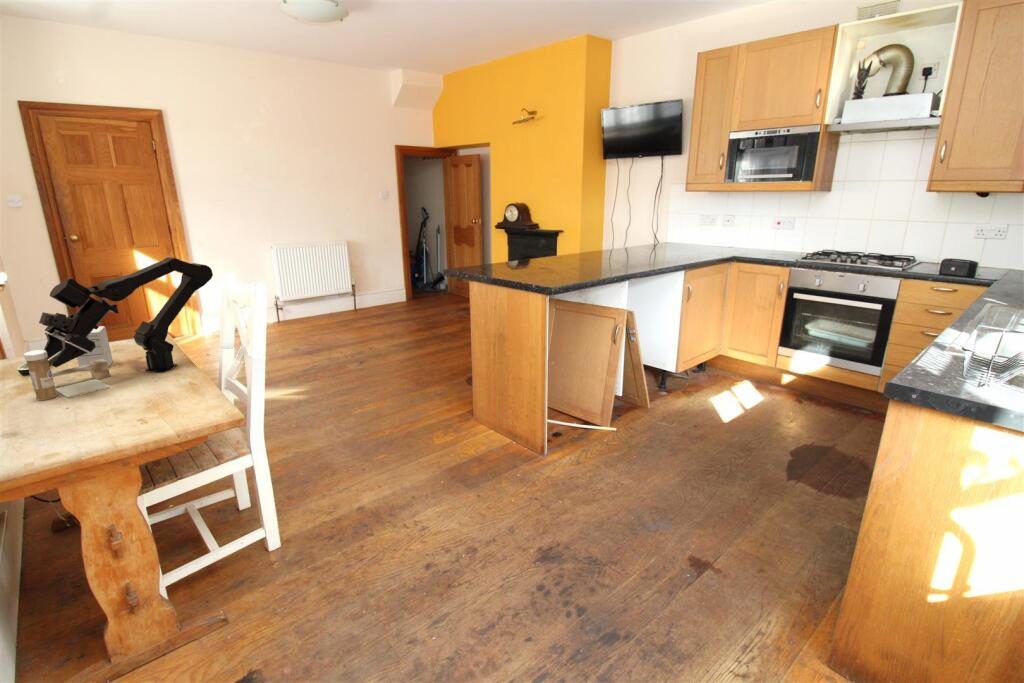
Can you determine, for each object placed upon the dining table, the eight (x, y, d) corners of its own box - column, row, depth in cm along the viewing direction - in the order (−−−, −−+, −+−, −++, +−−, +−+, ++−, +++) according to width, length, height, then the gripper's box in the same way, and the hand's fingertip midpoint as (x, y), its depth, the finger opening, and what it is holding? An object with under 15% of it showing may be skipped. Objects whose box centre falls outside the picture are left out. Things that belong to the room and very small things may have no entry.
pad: (96, 379, 152) (95, 378, 152) (110, 387, 147) (109, 385, 147) (54, 390, 144) (53, 388, 144) (67, 398, 139) (67, 396, 139)
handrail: (105, 373, 157) (102, 358, 156) (110, 376, 156) (106, 360, 154) (35, 390, 144) (30, 373, 142) (39, 393, 142) (34, 376, 140)
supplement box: (86, 364, 165) (77, 327, 162) (113, 361, 168) (105, 325, 165) (79, 371, 159) (69, 333, 155) (107, 368, 162) (99, 331, 158)
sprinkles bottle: (56, 398, 139) (44, 352, 135) (34, 402, 136) (21, 355, 132) (59, 393, 142) (47, 348, 138) (38, 396, 140) (25, 350, 136)
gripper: (46, 296, 142) (3, 342, 137) (71, 305, 133) (26, 355, 127) (86, 318, 151) (47, 362, 145) (112, 328, 142) (72, 375, 136)
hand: (47, 363), depth 138 cm, fingers open, 9 cm apart
